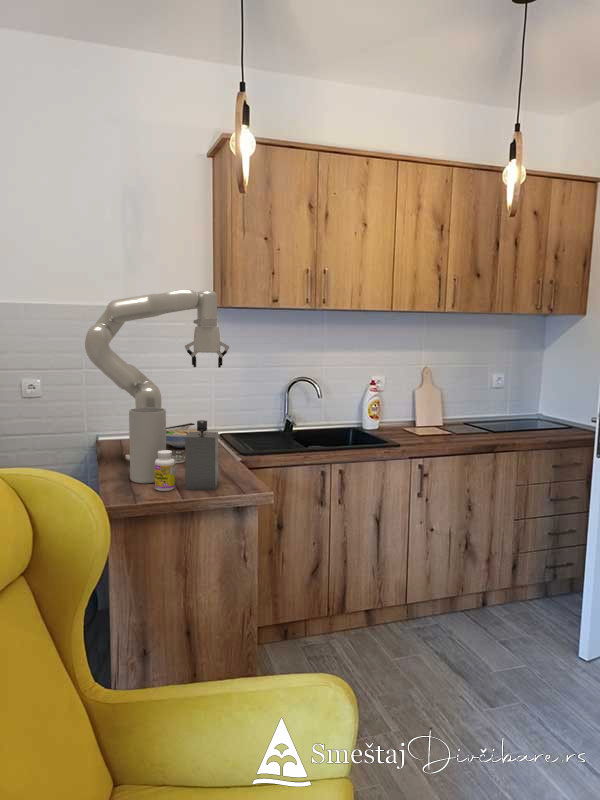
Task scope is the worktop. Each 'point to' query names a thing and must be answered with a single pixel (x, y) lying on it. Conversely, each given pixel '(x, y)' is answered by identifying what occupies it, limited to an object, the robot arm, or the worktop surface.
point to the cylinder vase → (146, 442)
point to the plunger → (202, 426)
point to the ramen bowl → (179, 434)
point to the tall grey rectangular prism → (201, 461)
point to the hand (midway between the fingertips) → (207, 367)
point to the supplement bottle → (164, 471)
